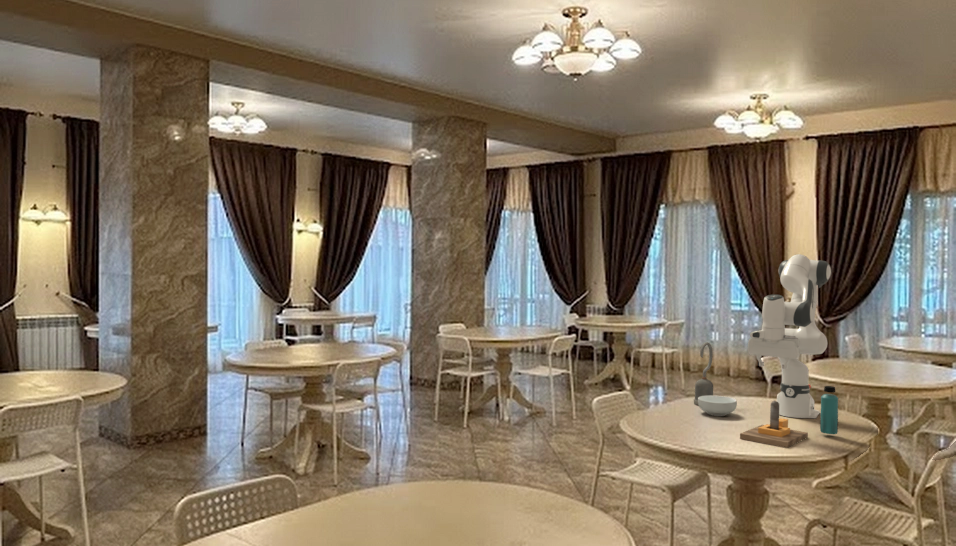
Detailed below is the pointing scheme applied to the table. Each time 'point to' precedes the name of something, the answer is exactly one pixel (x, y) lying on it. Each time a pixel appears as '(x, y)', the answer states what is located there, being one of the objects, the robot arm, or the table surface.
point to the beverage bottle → (829, 412)
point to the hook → (704, 378)
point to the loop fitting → (780, 433)
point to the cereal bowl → (717, 405)
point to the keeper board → (774, 439)
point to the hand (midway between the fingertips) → (772, 367)
